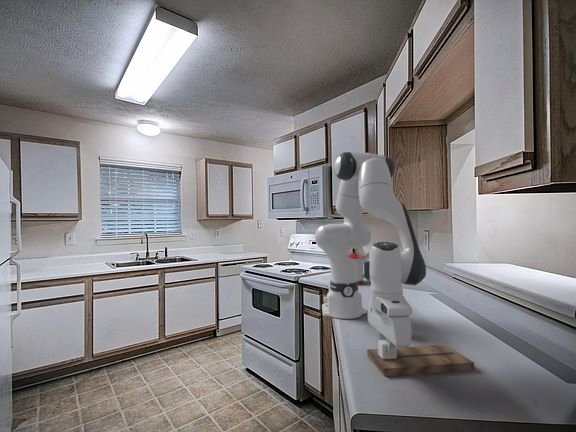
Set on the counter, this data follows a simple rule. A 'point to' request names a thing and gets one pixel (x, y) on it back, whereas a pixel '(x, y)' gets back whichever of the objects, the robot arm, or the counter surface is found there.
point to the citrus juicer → (358, 266)
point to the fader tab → (384, 350)
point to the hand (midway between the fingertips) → (387, 350)
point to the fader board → (421, 360)
